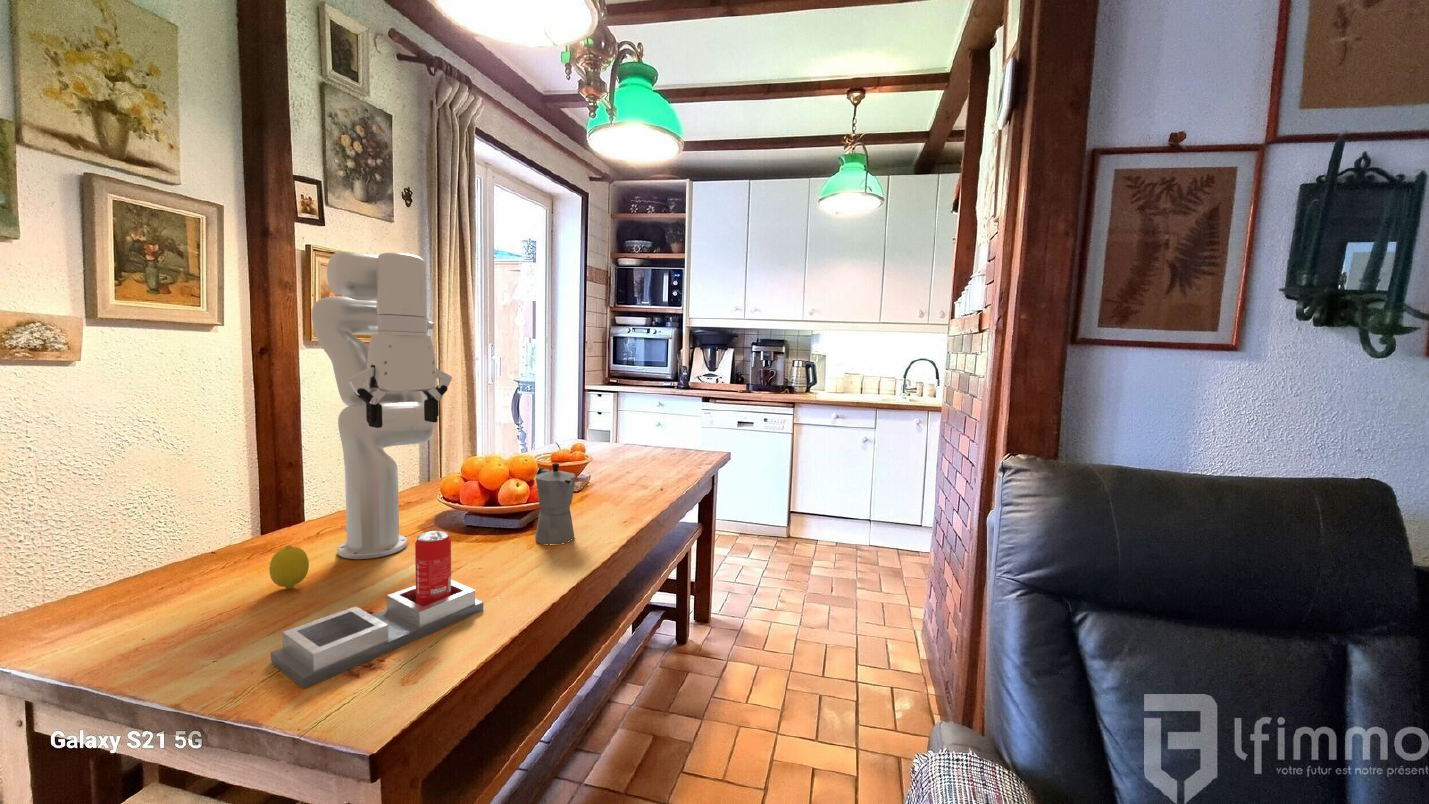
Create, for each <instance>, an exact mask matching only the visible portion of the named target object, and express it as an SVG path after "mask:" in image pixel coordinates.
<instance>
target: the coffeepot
mask: <svg viewBox="0 0 1429 804" xmlns="http://www.w3.org/2000/svg"><path fill="white" fill-rule="evenodd" d="M551 466H552V470H550V469H548V468H547V469H546V468H543V467H539V469H538V470H537V472H536V474H535V482H536V483H535V484H536V489H537V497H538V504H539V508H540V509H539V514H538V519H537V525H536V530H535V536H534V537H535V538H534V539H535V542H536V543H537V544H539V543H540V544H539V545H542V544H548V545H547V546H551V545H550V544H561V545H563V544H562V543H565V544H567V543H566V542H568V541H569V540H571V539H573V538H574V539H575V532H574V525H573V519H572V513H571V505H572V503H573V502H572V501H573V497H574V490H575V485H576V478H577V476H576V474H575V473H573V472H569V471H568V472H567V471H563V470H559V468H560V464H559V463H558V462H554V463H551ZM574 539H573V540H574ZM568 543H569V542H568Z"/></svg>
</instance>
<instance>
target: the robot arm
mask: <svg viewBox="0 0 1429 804" xmlns="http://www.w3.org/2000/svg"><path fill="white" fill-rule="evenodd" d="M326 278H327V283H328V286H329V288H330V290H331V292H332V293H333V295H335V296H327V297H323V298H320V299H319V300H317V301H315V302H314V304H313V306H312V310H311V321H312V326H313V331H314V334H315V337H316V338H317V341H318V343H319V345H320V346H321V348H322V349H323V350H324V352H325V353H326V355H327V356H328V358H329V359H330V361H331V365H332V368H333V372H334V373H333V374H334V378H335V382H336V386H337V390H338V393H339V396H340V397H339V398H340V399H341V401H342V402H343V404H345V406H346V407H344V408H343V409H342V410H341V411H340V413H339V415H338V417H337V418H338V419H337V426H338V427H337V428H338V432H339V435H340V436H339V437H340V441H341V446H342V452H343V461H344V463H343V464H344V483H345V484H344V487H345V516H346V517H345V519H346V521H345V522H346V524H345V526H346V527H345V530H344V531H345V532H346V541H345V542H342V544H340V545H339V546H338V548H337V553H338V556H339V557H341V558H343V559H350V560H368V559H375V558H382V557H385V556H390V555H393V554H396V553H398V552H400V551H402V550H404V549H405V548H406V547H407V546H408V538H407V537H406V536H404V535H401V534H400V516H399V515H400V510H399V509H400V505H399V503H400V501H399V499H400V498H399V468H398V465H397V463H396V461H395V460H394V459H393V457H391V456H390V454H388V453H387V452H386V451H385V450H384V449H385V448H391V447H395V446H405V445H406V446H407V445H408V446H409V445H418V444H424V443H427V442H429V440H431V439H432V437H433V436H434V433H435V423H438V417H439V415H440V414H439V411H440V410H439V407H440V406H439V403H440V402H439V401H441V400H442V399H443V398H442V397H443V396H444V394H445V393H446V392H447V391H448V389H449V388H448V387H449V386H450V383H451V381H452V379H453V377H452V375H450V374H448V373H447V372H444V371H442V370H440V369H439V368H436V367H437V365H436V357H435V350H434V345H433V341H432V338H431V336H430V335H428V333H429V330H433V329H434V328H435V327H434V322H432V321H429V318H428V300H427V299H428V297H427V295H428V293H427V291H428V289H427V287H428V285H427V284H428V283H427V282H428V281H427V280H428V279H427V264H426V261H425V260H424V259H423V258H422V257H420V256H418V255H415V254H410V253H403V252H382V253H380V254H379V255H375V254H370V253H362V252H361V253H360V252H359V253H358V252H353V251H350V252H349V251H339V252H335V253H333V254H332V255H331V256H330V258H329V260H328V263H327V267H326ZM354 335H357V336H358V335H361V336H362V335H363V336H371V337H370V339H369V340H370V341H369V346H368V345H367V344H366V343H365V342H364V341H362V340H361V339H359V338H358V337H356V336H354ZM437 379H438V380H439V384H438V385H437ZM436 385H437V386H436Z"/></svg>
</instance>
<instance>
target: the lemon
mask: <svg viewBox="0 0 1429 804" xmlns="http://www.w3.org/2000/svg"><path fill="white" fill-rule="evenodd" d="M309 568H310V562H309V557H308V554H307V553H306V551H305V550H303V549H302V548H301V547H299V546H293V545H292V544H287V545H286V546H285V547H283V548H281V549H279V550H277V551H276V552H275V554H273V556H272V558H271V560H270V562H269V570H268V571H269V577H270V580H271V581H272V582H273V583H274V584H276V585H277V586H279V587H284V588H286V589H288V590H291V589H293V588H294V587H295V586H296V585H297V584H300V583H301V582H303V580H304V579H305V578H306V577H307V575H308V571H309Z"/></svg>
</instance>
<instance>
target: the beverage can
mask: <svg viewBox="0 0 1429 804" xmlns="http://www.w3.org/2000/svg"><path fill="white" fill-rule="evenodd" d="M414 545H415V547H414V549H415V550H414V551H415V552H414V555H415V558H414V560H415V562H414V564H415V585H416V604H418V605H420V606H422V607H424V606H426V605H429V604H431V603H434V602H437V601H439V600H442V599H444V598H447V597H449V596H451V580H452V539H451V537H450V532H448V531H445V530H435V531H434V530H431V531H427V532H423V533H420V534H419V535H417V536H416V541H415V542H414Z"/></svg>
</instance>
